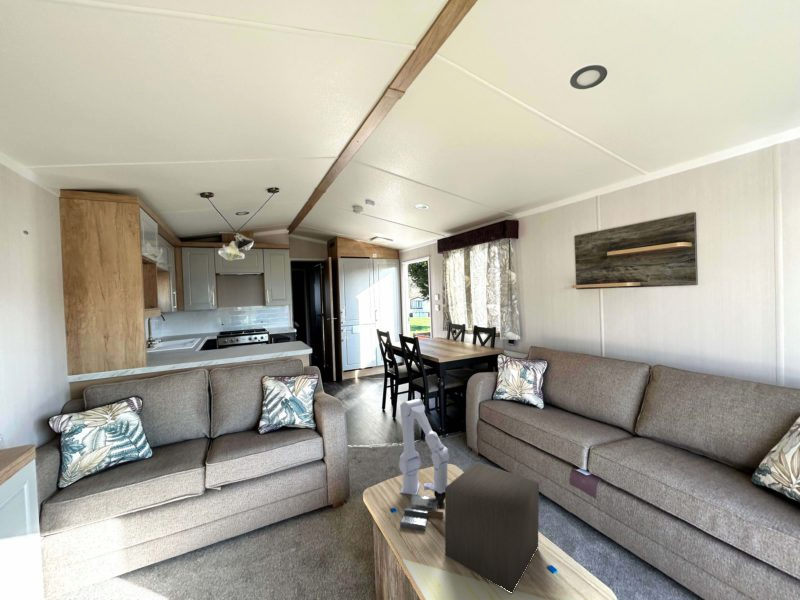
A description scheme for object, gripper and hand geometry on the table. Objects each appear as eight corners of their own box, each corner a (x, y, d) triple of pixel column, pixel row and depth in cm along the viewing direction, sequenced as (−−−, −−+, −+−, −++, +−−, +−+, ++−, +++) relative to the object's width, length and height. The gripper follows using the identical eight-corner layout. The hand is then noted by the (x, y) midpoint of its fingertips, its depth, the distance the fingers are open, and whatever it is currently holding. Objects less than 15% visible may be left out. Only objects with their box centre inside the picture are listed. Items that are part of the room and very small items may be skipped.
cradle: (404, 513, 147) (404, 508, 147) (427, 516, 145) (427, 511, 145) (400, 527, 138) (400, 521, 138) (424, 530, 136) (424, 525, 136)
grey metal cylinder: (410, 511, 148) (410, 499, 148) (413, 503, 153) (413, 491, 153) (436, 514, 146) (436, 502, 146) (437, 507, 151) (437, 495, 151)
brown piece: (429, 503, 153) (429, 499, 153) (444, 505, 152) (444, 501, 152) (426, 515, 145) (426, 511, 145) (443, 518, 144) (443, 513, 144)
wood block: (477, 519, 143) (477, 461, 142) (538, 548, 127) (538, 482, 126) (445, 555, 124) (445, 487, 123) (512, 594, 107) (512, 516, 107)
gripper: (422, 479, 145) (422, 510, 146) (457, 483, 142) (456, 515, 143) (425, 471, 152) (425, 500, 153) (457, 474, 149) (457, 505, 149)
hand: (440, 507), depth 148 cm, fingers closed
